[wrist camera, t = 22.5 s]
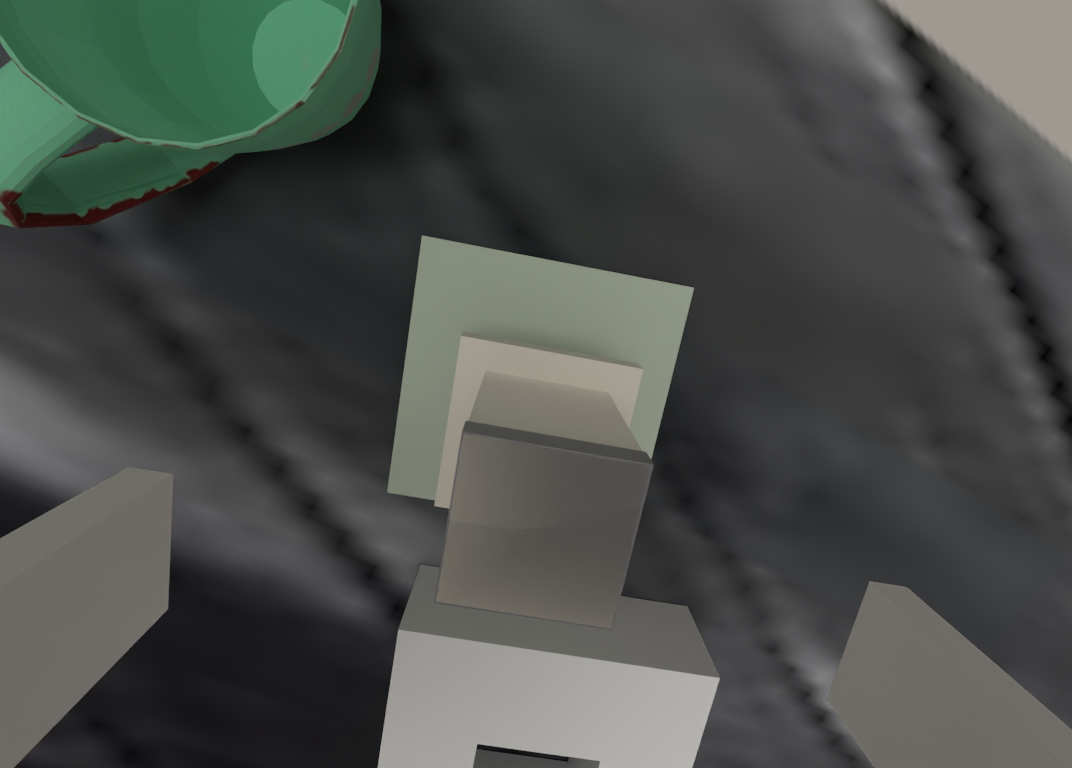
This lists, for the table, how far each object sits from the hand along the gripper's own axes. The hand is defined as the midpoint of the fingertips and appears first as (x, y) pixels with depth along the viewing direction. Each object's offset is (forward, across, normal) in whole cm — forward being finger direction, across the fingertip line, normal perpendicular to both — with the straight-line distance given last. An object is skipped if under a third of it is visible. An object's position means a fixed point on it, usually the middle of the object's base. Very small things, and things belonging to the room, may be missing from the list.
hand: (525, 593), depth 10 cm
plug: (+15, +1, 0) cm, 15 cm away
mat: (+16, +1, 0) cm, 16 cm away
